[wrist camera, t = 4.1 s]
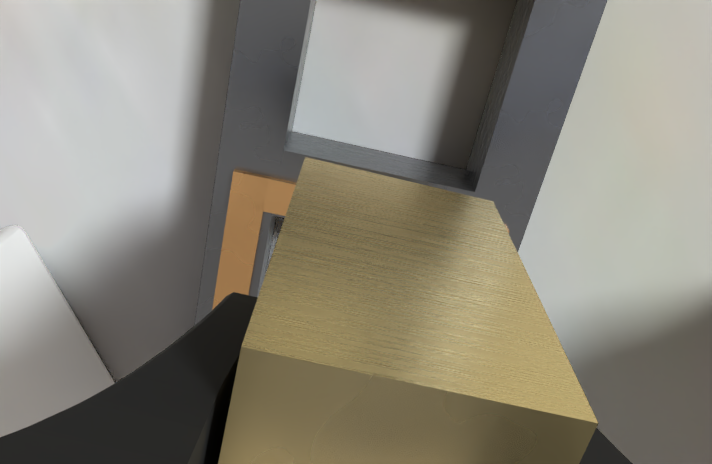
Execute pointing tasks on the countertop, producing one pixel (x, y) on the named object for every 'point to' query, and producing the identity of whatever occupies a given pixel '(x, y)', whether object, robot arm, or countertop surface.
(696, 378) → the countertop surface
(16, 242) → the medicine bottle
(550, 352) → the tan rectangular block
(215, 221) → the grey rectangular frame
